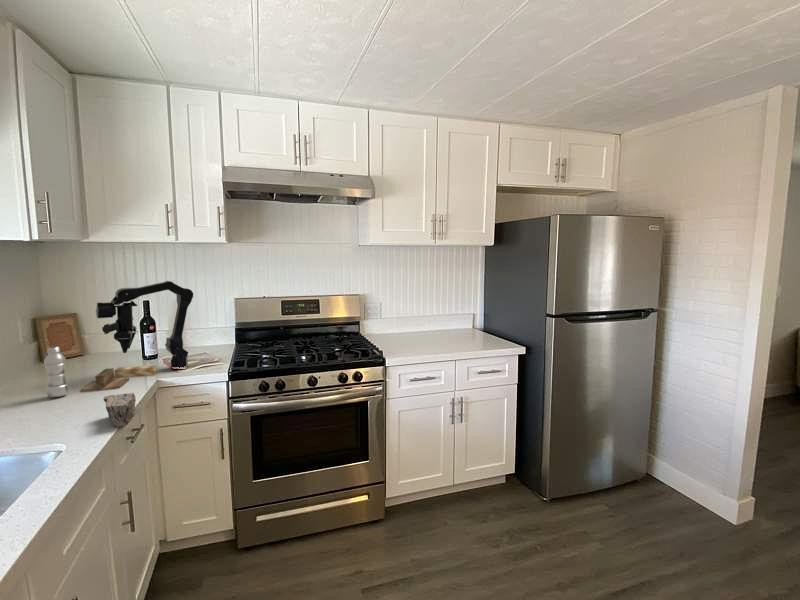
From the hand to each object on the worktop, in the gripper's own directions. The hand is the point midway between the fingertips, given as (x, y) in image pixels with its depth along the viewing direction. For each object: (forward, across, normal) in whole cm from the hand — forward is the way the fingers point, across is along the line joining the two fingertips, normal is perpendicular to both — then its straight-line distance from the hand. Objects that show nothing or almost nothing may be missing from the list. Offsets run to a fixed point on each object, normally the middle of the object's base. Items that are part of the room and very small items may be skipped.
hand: (126, 350), depth 190 cm
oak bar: (+13, -2, +3) cm, 13 cm away
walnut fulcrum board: (+13, +9, -7) cm, 17 cm away
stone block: (+13, +54, +5) cm, 56 cm away
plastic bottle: (+14, +17, -21) cm, 30 cm away
